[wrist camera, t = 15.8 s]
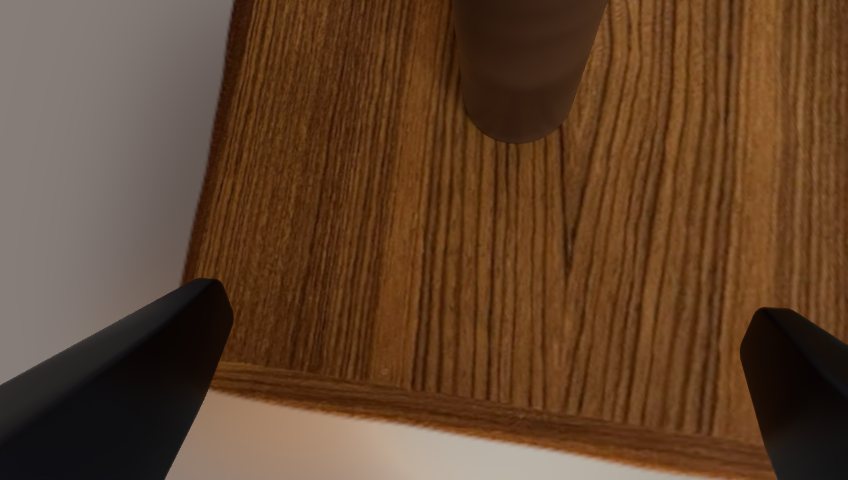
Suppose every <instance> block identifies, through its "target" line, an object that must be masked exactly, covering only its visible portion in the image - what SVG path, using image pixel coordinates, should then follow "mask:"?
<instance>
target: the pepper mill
mask: <svg viewBox="0 0 848 480" xmlns="http://www.w3.org/2000/svg"><path fill="white" fill-rule="evenodd" d="M607 2H608V0H452V8H453V16H454V24H455V32H456V40H457V48H458V56H459V64H460V72H461V80H462V89H463V97H464V103H465V108H466V111H467V113H468V115H469V117H470V119H471V121H472V122H473V123H474V125H475V126H476V127H477V128H478V129H479V130H480V131H481V132H483V133H484V134H486V135H487V136H489V137H491V138H493V139H495V140H498V141H501V142H505V143H514V144H520V143H528V142H533V141H536V140H539V139H541V138H543V137H545V136H547V135H549V134H550V133H552V132H553V131H554V130H556V129H557V128H558V127H559V126H560V125H561V124H562V123H563V121H564V120H565V118H566V117H567V115H568V113H569V111H570V109H571V106H572V103H573V100H574V97H575V95H576V92H577V89H578V86H579V83H580V80H581V77H582V74H583V71H584V68H585V66H586V63H587V60H588V57H589V54H590V51H591V48H592V45H593V42H594V39H595V37H596V34H597V31H598V28H599V25H600V22H601V19H602V16H603V13H604V10H605V8H606V5H607Z"/></svg>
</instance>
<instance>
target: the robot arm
mask: <svg viewBox="0 0 848 480" xmlns="http://www.w3.org/2000/svg"><path fill="white" fill-rule="evenodd" d="M233 320H234V316H233V310H232V308H231V305H230V302H229V300H228V297H227V294H226V291H225V289H224V286H223V284H222V283H221V282H220V281H219V280H217V279H207V278H198V279H194V280H192V281H191V282H189V283H187V284H185V285H183V286H181V287H179V288H178V289H176V290H174V291H172V292H170V293H168V294H167V295H165V296H163V297H161V298H159V299H157V300H156V301H154V302H152V303H150V304H148V305H146V306H145V307H143V308H141V309H139V310H137V311H136V312H134V313H132V314H130V315H128V316H126V317H124V318H123V319H121V320H119V321H117V322H115V323H113V324H112V325H110V326H108V327H106V328H104V329H102V330H101V331H99V332H97V333H95V334H93V335H91V336H90V337H88V338H86V339H84V340H82V341H80V342H78V343H77V344H75V345H73V346H71V347H69V348H67V349H66V350H64V351H62V352H60V353H58V354H56V355H55V356H53V357H51V358H49V359H47V360H45V361H44V362H42V363H40V364H38V365H36V366H34V367H32V368H31V369H29V370H27V371H25V372H23V373H21V374H20V375H18V376H16V377H14V378H13V379H11V380H9V381H7V382H5V383H3V384H1V385H0V480H165V478H166V476H167V473H168V471H169V469H170V468H171V466H172V464H173V462H174V460H175V457H176V455H177V454H178V451H179V450H180V448H181V445H182V444H183V442H184V440H185V437H186V436H187V434H188V432H189V430H190V427H191V426H192V423H193V422H194V420H195V418H196V415H197V414H198V411H199V409H200V407H201V405H202V403H203V401H204V399H205V396H206V394H207V392H208V389H209V387H210V384H211V381H212V379H213V376H214V373H215V371H216V368H217V365H218V363H219V360H220V357H221V355H222V352H223V349H224V347H225V344H226V342H227V339H228V336H229V334H230V331H231V328H232V325H233ZM740 358H741V362H742V366H743V370H744V373H745V377H746V380H747V384H748V388H749V391H750V395H751V399H752V402H753V406H754V410H755V413H756V417H757V420H758V424H759V428H760V431H761V435H762V438H763V441H764V445H765V448H766V451H767V453H768V456H769V459H770V461H771V464H772V467H773V469H774V472H775V474H776V477H777V479H778V480H848V345H847V344H845V343H844V342H842V341H840V340H839V339H837V338H836V337H834V336H833V335H831V334H829V333H828V332H826V331H825V330H823V329H822V328H820V327H818V326H817V325H815V324H814V323H812V322H811V321H809V320H807V319H806V318H804V317H803V316H801V315H800V314H798V313H796V312H795V311H793V310H791V309H788V308H774V307H762V308H759V309H758V310H757V311H756V312H755V313H754V315H753V317H752V320H751V322H750V324H749V326H748V329H747V331H746V333H745V336H744V338H743V340H742V343H741V346H740Z"/></svg>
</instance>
